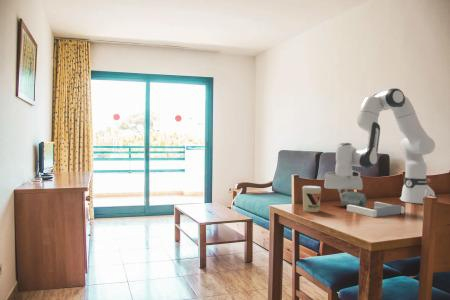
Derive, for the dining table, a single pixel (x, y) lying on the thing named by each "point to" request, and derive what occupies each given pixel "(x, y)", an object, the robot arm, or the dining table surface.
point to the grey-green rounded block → (353, 199)
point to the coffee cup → (311, 198)
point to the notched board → (377, 209)
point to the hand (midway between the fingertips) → (342, 197)
